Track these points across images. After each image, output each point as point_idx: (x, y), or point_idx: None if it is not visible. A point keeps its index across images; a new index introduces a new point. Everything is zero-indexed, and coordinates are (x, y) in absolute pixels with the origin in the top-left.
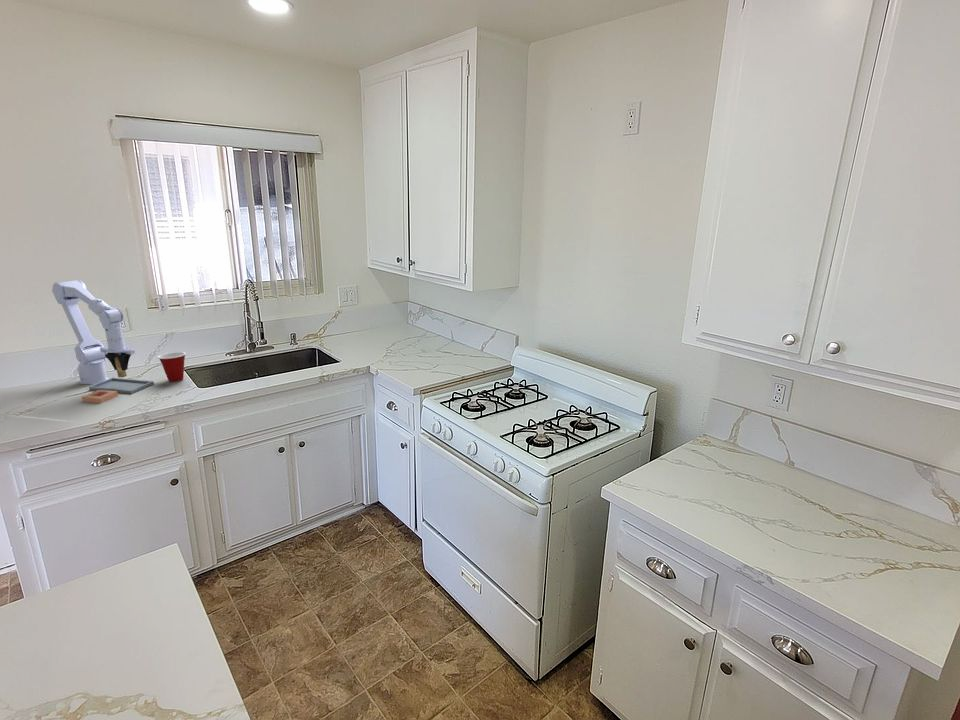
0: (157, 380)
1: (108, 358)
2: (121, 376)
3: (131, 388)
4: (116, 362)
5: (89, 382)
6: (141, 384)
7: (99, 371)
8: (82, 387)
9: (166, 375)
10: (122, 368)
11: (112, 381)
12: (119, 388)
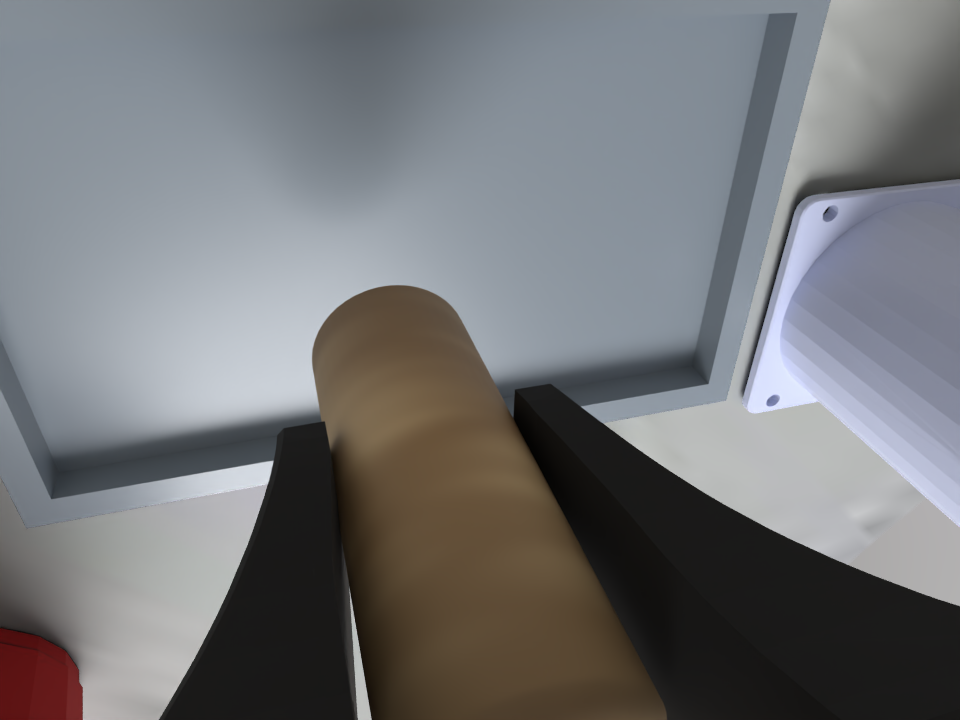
0: (201, 584)
1: (844, 594)
2: (343, 310)
3: (140, 219)
4: (492, 561)
5: (930, 205)
6: (177, 404)
7: (919, 367)
8: (950, 73)
9: (27, 702)
10: (290, 460)
11: (677, 337)
12: (349, 150)
